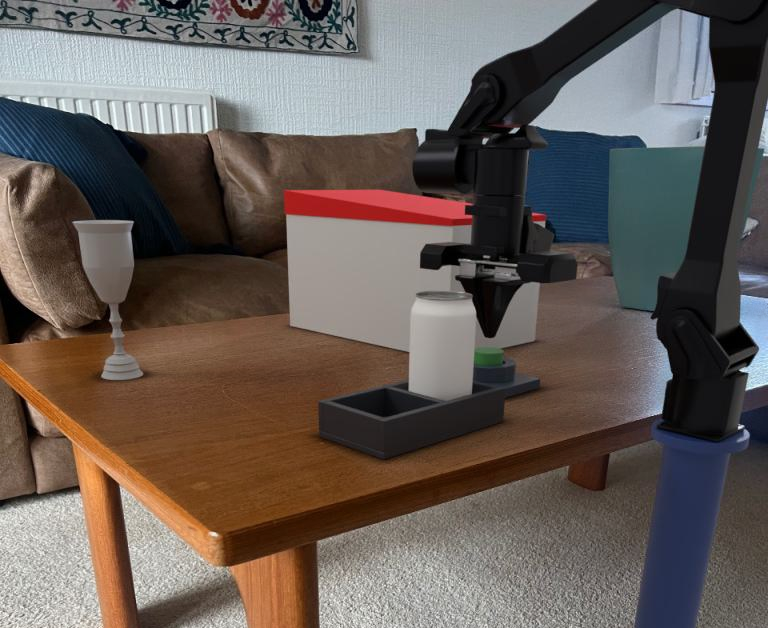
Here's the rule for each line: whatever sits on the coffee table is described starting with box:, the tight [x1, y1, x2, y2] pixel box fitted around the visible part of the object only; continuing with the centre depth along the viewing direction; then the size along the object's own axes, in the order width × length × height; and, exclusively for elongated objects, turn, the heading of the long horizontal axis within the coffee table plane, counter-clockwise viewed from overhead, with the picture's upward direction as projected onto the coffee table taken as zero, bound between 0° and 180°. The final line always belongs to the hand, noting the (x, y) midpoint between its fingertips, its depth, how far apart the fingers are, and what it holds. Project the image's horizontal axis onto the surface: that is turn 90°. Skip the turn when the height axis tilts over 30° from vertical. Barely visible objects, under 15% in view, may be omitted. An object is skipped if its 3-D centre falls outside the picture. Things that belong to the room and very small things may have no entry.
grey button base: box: [473, 357, 541, 399], centre depth 94 cm, size 10×8×3 cm
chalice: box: [72, 219, 144, 381], centre depth 94 cm, size 7×7×18 cm
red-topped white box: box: [283, 189, 547, 353], centre depth 121 cm, size 21×35×21 cm, turn 45°
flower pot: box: [607, 145, 765, 312], centre depth 146 cm, size 20×20×28 cm
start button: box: [474, 347, 505, 366], centre depth 93 cm, size 4×4×2 cm
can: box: [408, 291, 476, 401], centre depth 78 cm, size 6×6×12 cm
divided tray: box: [317, 379, 506, 460], centre depth 78 cm, size 9×17×4 cm, turn 134°
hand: (489, 337), depth 92 cm, fingers closed
